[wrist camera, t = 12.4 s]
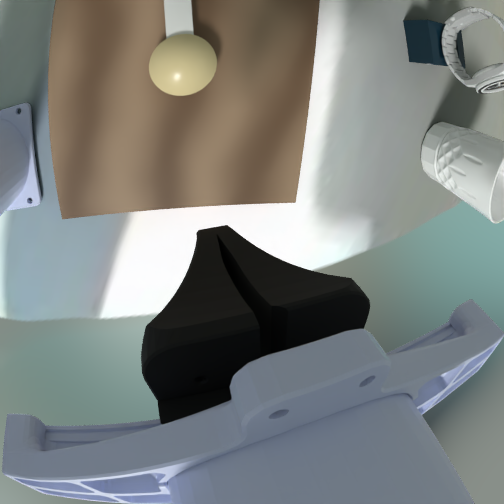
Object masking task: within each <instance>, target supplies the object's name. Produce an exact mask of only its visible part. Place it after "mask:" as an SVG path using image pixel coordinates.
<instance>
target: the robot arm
mask: <svg viewBox="0 0 504 504" xmlns="http://www.w3.org/2000/svg"><path fill="white" fill-rule="evenodd" d="M19 108H20V109H21V113H20V114H19V113H18V109H19ZM29 198H32V200H33V202H31V201H30V200H29ZM41 200H42V197H41V191H40V186H39V180H38V174H37V167H36V159H35V151H34V142H33V131H32V115H31V105H30V104H29V103H22V104H19V105H15V106H12V107H9V108H6V109H2V110H0V216H1V215H2V214H3V212H4V211H8V210H13V209H19V208H25V207H31V206H37V205H39V204H40V202H41ZM196 234H197V242H196V247H195V251H194V255H193V258H192V261H191V263H190V266H189V269H188V271H187V273H186V276H185V278H184V279H183V281H182V283H181V285H180V287H179V288H178V290H177V292H176V293H175V295H174V296H173V298H172V299H171V300H170V301H169V303H168V304H167V305H166V306H165V308H164V309H163V310H162V311H161V312H160V313H159V314H158V315H157V316H156V317H155V318H154V319H153V320H152V321H151V322H150V323H149V324H148V325H147V326H146V329H145V334H144V338H143V344H142V352H141V361H142V374H143V376H144V379H145V381H146V383H147V385H148V386H149V388H150V389H151V391H152V393H153V394H154V396H155V397H156V399H157V400H158V408H159V416H160V419H156V420H148V421H140V422H130V423H120V424H106V425H87V426H86V425H84V426H45V424H44V423H43V422H42V421H41V420H39V419H38V418H37V417H35V416H32V415H28V414H13V413H9V414H7V421H6V429H5V438H4V449H3V465H2V472H3V474H4V475H6V476H8V477H10V478H12V479H14V480H16V481H18V482H20V483H22V484H24V485H26V486H28V487H30V488H32V489H35V490H37V491H39V492H41V493H44V494H49V495H54V496H61V497H68V498H75V499H83V500H91V501H101V502H114V503H135V504H140V503H141V504H160V503H161V504H162V503H172V504H475V503H474V501H473V499H472V498H471V496H470V494H469V492H468V491H467V489H466V487H465V485H464V483H463V482H462V480H461V478H460V477H459V475H458V473H457V471H456V470H455V468H454V466H453V465H452V463H451V461H450V460H449V458H448V456H447V455H446V453H445V451H444V450H443V448H442V447H441V445H440V443H439V442H438V440H437V438H436V437H435V436H434V434H433V432H432V431H431V429H430V427H429V426H428V424H427V423H426V421H425V420H424V418H423V416H422V414H424V413H425V412H426V411H428V410H429V409H430V408H432V407H433V406H434V405H436V404H437V403H438V402H440V401H441V400H442V399H444V398H445V397H446V396H447V395H449V394H450V393H451V392H452V391H454V390H455V389H456V388H457V387H459V386H460V385H461V384H462V383H464V382H465V381H466V380H467V379H468V378H469V377H471V376H472V375H473V374H474V373H476V372H477V371H478V370H479V369H480V368H481V366H482V365H483V364H484V363H485V361H486V360H487V359H488V357H489V356H490V355H491V353H492V352H493V351H494V349H495V348H496V347H497V345H498V344H499V342H500V341H501V340H502V338H503V337H504V332H503V331H502V330H501V329H500V328H499V327H498V326H497V325H496V324H495V323H494V322H493V320H492V319H491V318H490V317H489V316H488V315H487V314H486V313H485V312H484V311H483V310H482V309H481V308H480V307H479V306H478V305H477V304H476V303H475V302H474V301H473V300H472V299H470V300H468V301H466V302H465V303H463V304H461V305H459V306H458V307H457V308H456V309H455V310H454V311H453V313H452V314H451V316H450V318H449V322H447V323H445V324H443V325H442V326H440V327H438V328H436V329H434V330H432V331H430V332H429V333H427V334H425V335H423V336H421V337H419V338H417V339H415V340H413V341H411V342H409V343H407V344H405V345H403V346H401V347H399V348H397V349H394V350H392V351H390V352H388V353H385V352H384V350H383V349H382V348H381V347H380V345H379V343H378V342H377V341H376V339H375V338H374V336H373V335H372V334H371V333H369V332H368V331H367V330H365V329H364V326H365V323H366V320H367V317H368V314H369V309H370V302H369V299H368V298H367V296H366V295H365V293H364V292H363V291H362V290H361V288H360V287H359V286H358V285H357V284H356V283H355V282H354V281H353V280H352V279H351V278H346V277H340V276H333V275H327V274H323V273H318V272H314V271H311V270H307V269H304V268H301V267H298V266H295V265H292V264H290V263H287V262H285V261H282V260H280V259H278V258H276V257H274V256H272V255H270V254H268V253H266V252H265V251H263V250H261V249H259V248H258V247H256V246H255V245H253V244H252V243H250V242H249V241H247V240H246V239H244V238H243V237H242V236H241V235H239V234H238V233H237V232H235V231H234V230H233V229H232V228H230V227H229V226H228V225H225V226H219V227H214V228H208V229H203V230H198V232H197V233H196Z"/></svg>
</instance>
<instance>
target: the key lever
mask: <svg viewBox="0 0 504 504" xmlns="http://www.w3.org/2000/svg"><path fill="white" fill-rule="evenodd" d="M164 12H165V27H166V40H164V41H163V42H161V43H160V44H159V45H158V46H157V47H156V49H155V50H154V51H153V53H152V55H151V58H150V62H149V73H150V76H151V79H152V81H153V82H154V84H155V85H156V86H157V87H158V88H159V89H160V90H162V91H163V92H165V93H168V94H171V95H176V96H185V95H190V94H193V93H196V92H198V91H200V90H201V89H203V88H204V87H205V86H206V85H207V84H208V83H209V82H210V81H211V80H212V78H213V76H214V74H215V71H216V67H217V58H216V54H215V51H214V49H213V48H212V46H211V45H210V44H209V43H208V42H207V41H206V40H204V39H203V38H201V37H199V36H196V35H194V32H193V19H192V5H191V0H164Z"/></svg>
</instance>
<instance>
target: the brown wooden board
mask: <svg viewBox="0 0 504 504" xmlns="http://www.w3.org/2000/svg"><path fill="white" fill-rule="evenodd" d="M319 1H320V0H191V5H192V19H193V32H194V35H196V36H199V37H201V38H203V39H204V40H206V41H207V42H208V43H209V44H210V45H211V46H212V48H213V49H214V51H215V54H216V58H217V67H216V71H215V74H214V76H213V78H212V80H211V81H210V82H209V83H208V84H207V85H206V86H205V87H204V88H203V89H201V90H200V91H198V92H196V93H193V94H190V95H185V96H176V95H171V94H168V93H165V92H163V91H162V90H160V89H159V88H158V87H157V86H156V85H155V84H154V82H153V81H152V79H151V76H150V73H149V62H150V58H151V55H152V53H153V51H154V50H155V49H156V47H157V46H158V45H159V44H160V43H161V42H163V41H164V40H166V27H165V12H164V0H56V1H55V7H54V14H53V21H52V29H51V38H50V50H49V69H48V109H49V128H50V141H51V151H52V160H53V168H54V175H55V182H56V188H57V194H58V200H59V205H60V210H61V215H62V219H68V218H77V217H85V216H94V215H104V214H113V213H124V212H134V211H146V210H158V209H171V208H185V207H200V206H218V205H238V204H262V203H295V202H296V195H297V189H298V182H299V175H300V168H301V161H302V154H303V147H304V140H305V132H306V124H307V117H308V109H309V100H310V92H311V83H312V74H313V65H314V56H315V46H316V36H317V25H318V13H319Z"/></svg>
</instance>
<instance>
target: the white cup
mask: <svg viewBox="0 0 504 504" xmlns="http://www.w3.org/2000/svg"><path fill="white" fill-rule="evenodd" d="M421 161H422V166H423V170H424V171H425V172H426V173H427V175H428V176H429V177H431V178H432V179H434V180H435V181H437V182H439V183H440V184H442V185H443V186H444V187H445V188H447V189H448V190H449V191H451V192H452V193H454V194H455V195H456V196H458V197H459V198H460V199H462V200H463V201H465V202H466V203H468V204H469V205H470V206H472V207H473V208H475V209H476V210H477V211H479V212H480V213H481V214H483V215H484V216H485V217H487V218H488V219H489V220H490V221H492V222H493V223H500V222H501V221H503V220H504V141H502V140H500V139H497V138H495V137H492V136H489V135H487V134H484V133H481V132H478V131H475V130H472V129H468V128H465V127H459V126H455V125H452V124H449V123H445V122H440V123H437V124H434V125H433V126H432V127H431V128H430V129H429V131H428V132H427V133H426V136H425V138H424V141H423V143H422V150H421Z"/></svg>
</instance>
